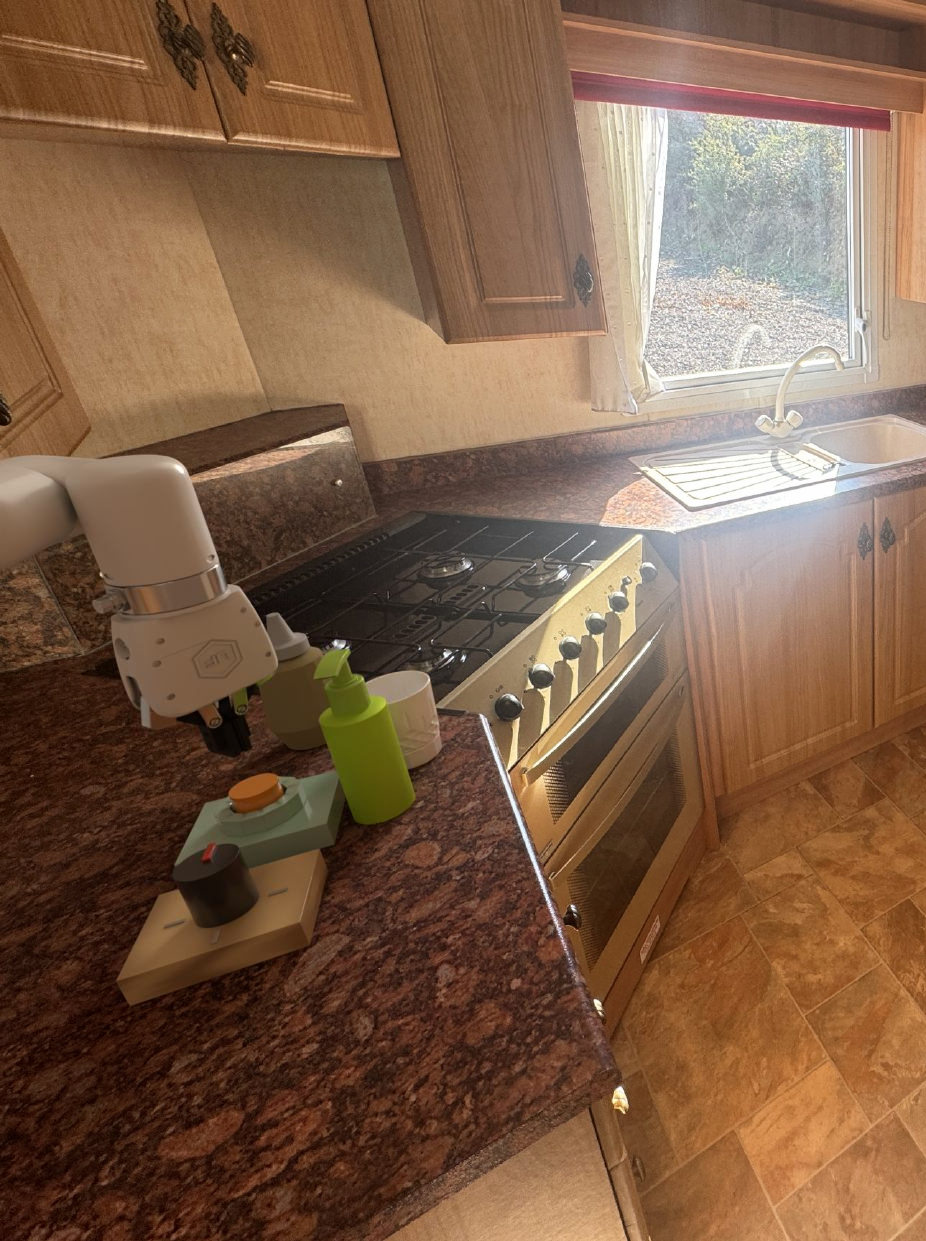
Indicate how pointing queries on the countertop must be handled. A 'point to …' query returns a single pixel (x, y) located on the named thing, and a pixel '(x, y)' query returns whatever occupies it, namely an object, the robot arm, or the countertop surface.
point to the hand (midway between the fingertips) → (233, 750)
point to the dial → (216, 885)
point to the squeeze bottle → (294, 688)
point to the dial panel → (225, 931)
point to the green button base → (274, 822)
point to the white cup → (411, 713)
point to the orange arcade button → (256, 793)
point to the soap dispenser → (363, 744)
